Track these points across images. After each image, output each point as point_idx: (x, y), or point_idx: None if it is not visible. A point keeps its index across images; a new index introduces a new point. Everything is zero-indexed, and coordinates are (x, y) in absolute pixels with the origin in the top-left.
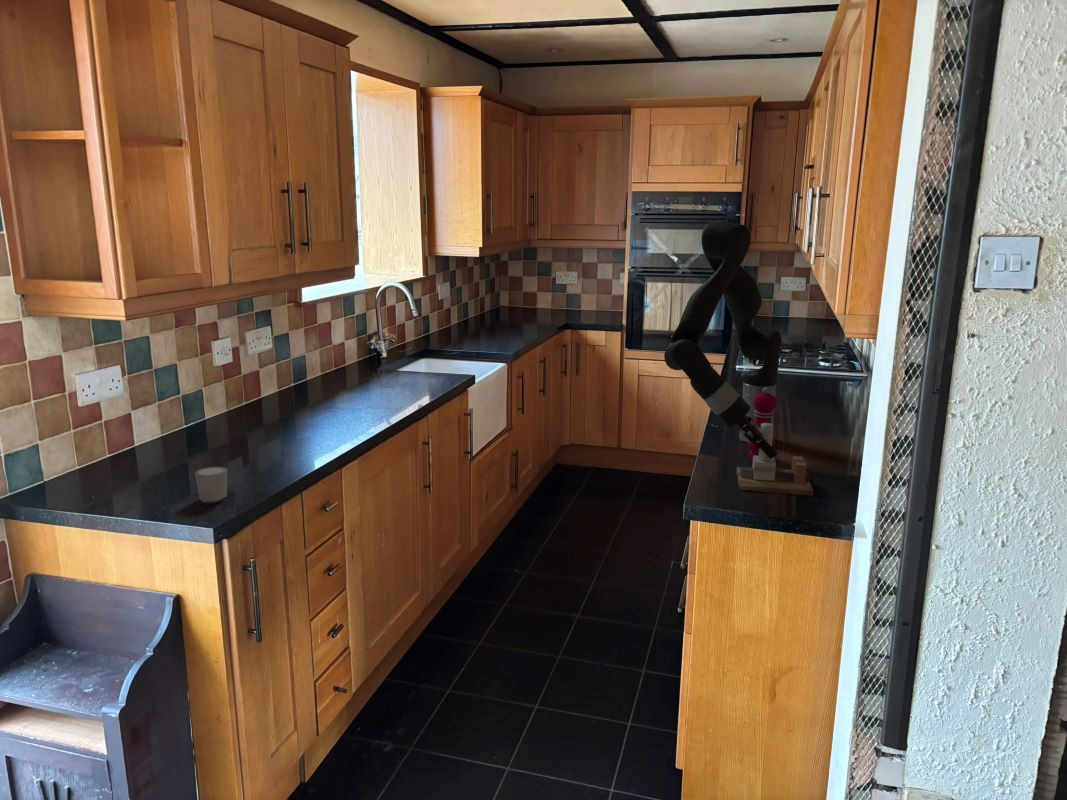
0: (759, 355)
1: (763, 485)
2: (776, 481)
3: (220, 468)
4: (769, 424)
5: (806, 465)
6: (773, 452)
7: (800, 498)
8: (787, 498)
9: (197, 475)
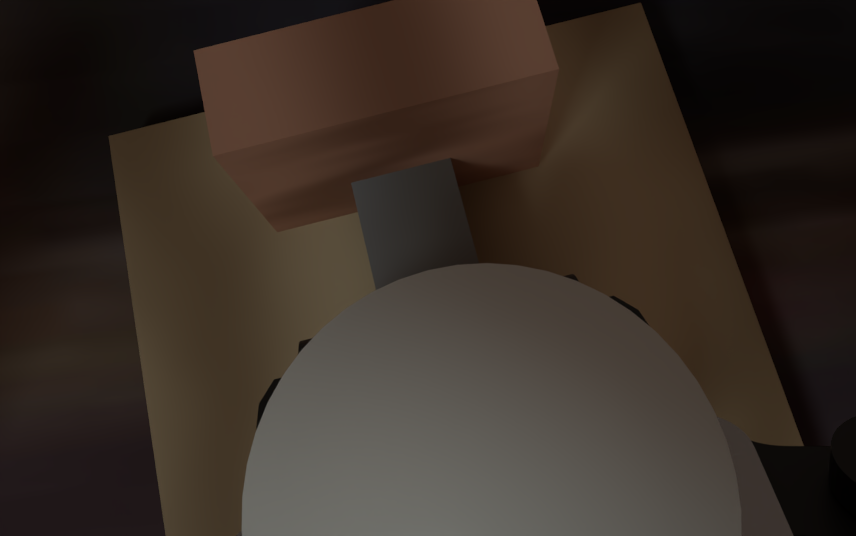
0: None
1: (739, 426)
2: None
3: None
4: (437, 426)
5: None
6: (641, 317)
7: (756, 103)
8: (821, 195)
9: None
